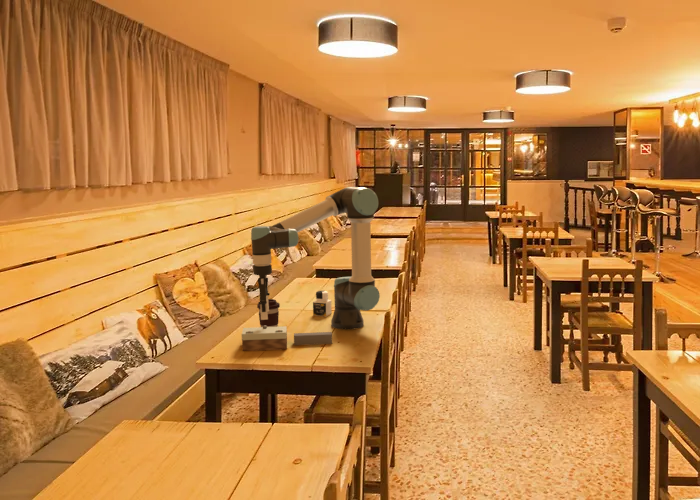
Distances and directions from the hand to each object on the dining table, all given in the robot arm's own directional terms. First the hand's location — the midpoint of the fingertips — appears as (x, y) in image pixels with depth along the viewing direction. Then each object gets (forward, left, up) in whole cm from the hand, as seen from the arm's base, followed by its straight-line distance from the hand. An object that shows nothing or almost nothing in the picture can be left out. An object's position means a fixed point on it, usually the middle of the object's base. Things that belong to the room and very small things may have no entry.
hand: (265, 315), depth 264 cm
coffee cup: (-1, -23, -14) cm, 27 cm away
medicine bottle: (-26, -55, -14) cm, 62 cm away
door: (0, 0, -9) cm, 9 cm away
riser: (-20, -4, -14) cm, 24 cm away
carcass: (0, -2, -14) cm, 14 cm away
